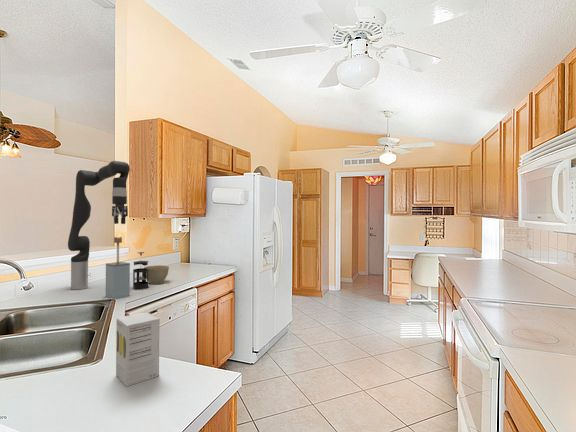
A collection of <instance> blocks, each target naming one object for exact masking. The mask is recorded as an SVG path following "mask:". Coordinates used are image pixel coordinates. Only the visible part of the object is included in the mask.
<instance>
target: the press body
mask: <svg viewBox="0 0 576 432" xmlns="http://www.w3.org/2000/svg"><path fill="white" fill-rule="evenodd" d="M130 263H131V262H125V261H119V264H117V261H116V262H108V263H105V297H106V298H109V299H111V298H112V299H111V300H116V299H121V298H126V297H130V296H131V294H130V293H131V291H130V289H131V287H130V285H131V284H130V283H131V282H130V281H131V280H130V278H131V277H130V276H131V273H130V271H131V264H130Z"/></svg>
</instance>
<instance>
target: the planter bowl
mask: <svg viewBox="0 0 576 432" xmlns="http://www.w3.org/2000/svg"><path fill="white" fill-rule="evenodd" d="M143 268H147V269H148V284H154V285H157V284H163V283H164V281H165V280H166V279H167V277H168V275H169V269H170V267H169V266H168V265H149V266H148V265H146V266H144V267H143ZM146 277H147V272H146Z"/></svg>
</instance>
